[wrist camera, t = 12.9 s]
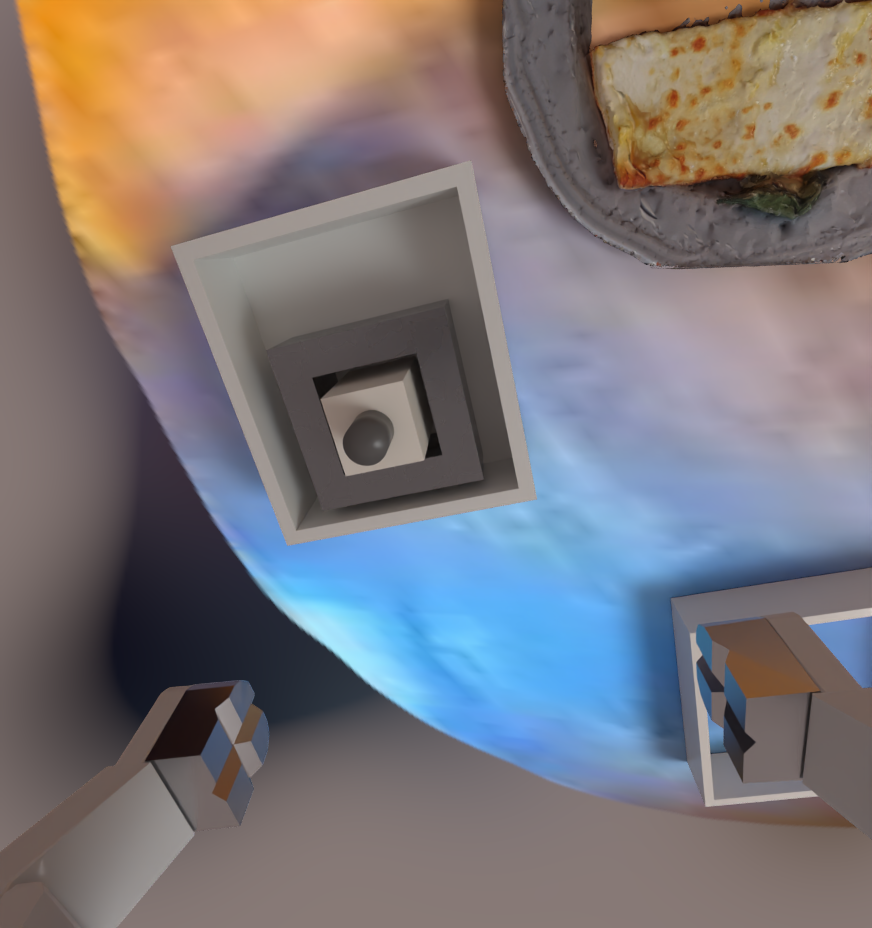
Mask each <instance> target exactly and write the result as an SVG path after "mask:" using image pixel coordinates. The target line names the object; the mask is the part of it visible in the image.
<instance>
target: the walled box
mask: <svg viewBox="0 0 872 928" xmlns="http://www.w3.org/2000/svg"><path fill="white" fill-rule="evenodd" d="M171 249H172V251H173V254H174V256H175V259H176V261H177V264H178V266H179V269H180V272H181V274H182V277H183V279H184V282H185V284H186V287H187V290H188V292H189V295H190V297H191V300H192V302H193V305H194V307H195V310H196V313H197V315H198V318H199V320H200V323H201V325H202V328H203V331H204V333H205V336H206V338H207V341H208V343H209V346H210V348H211V351H212V354H213V356H214V359H215V361H216V364H217V366H218V369H219V372H220V374H221V377H222V379H223V382H224V384H225V387H226V389H227V392H228V395H229V397H230V400H231V402H232V405H233V407H234V410H235V412H236V415H237V418H238V420H239V423H240V425H241V428H242V430H243V433H244V436H245V438H246V441H247V443H248V446H249V448H250V451H251V453H252V456H253V459H254V461H255V464H256V466H257V469H258V471H259V474H260V477H261V479H262V482H263V484H264V487H265V489H266V492H267V494H268V497H269V500H270V502H271V505H272V507H273V510H274V512H275V515H276V518H277V520H278V523H279V525H280V528H281V530H282V533H283V535H284V538H285V541H286V543H287V546H288V545H294V544H299V543H305V542H310V541H315V540H321V539H326V538H331V537H337V536H342V535H348V534H353V533H358V532H364V531H369V530H375V529H380V528H385V527H391V526H396V525H401V524H407V523H412V522H418V521H423V520H428V519H434V518H439V517H445V516H450V515H455V514H461V513H466V512H471V511H477V510H482V509H488V508H493V507H498V506H504V505H509V504H515V503H520V502H525V501H531V500H536V499H537V497H536V492H535V487H534V482H533V476H532V471H531V466H530V461H529V456H528V451H527V445H526V440H525V435H524V430H523V425H522V420H521V414H520V409H519V404H518V399H517V394H516V389H515V384H514V378H513V373H512V368H511V363H510V358H509V353H508V347H507V342H506V337H505V332H504V327H503V322H502V316H501V311H500V306H499V301H498V296H497V291H496V286H495V280H494V275H493V270H492V265H491V260H490V255H489V249H488V244H487V239H486V234H485V229H484V224H483V218H482V213H481V208H480V203H479V198H478V193H477V187H476V182H475V177H474V172H473V167H472V162H471V160H470V161H467V162H463V163H460V164H456V165H453V166H449V167H446V168H442V169H439V170H435V171H432V172H428V173H425V174H421V175H418V176H414V177H411V178H407V179H404V180H400V181H397V182H393V183H390V184H386V185H383V186H379V187H376V188H372V189H369V190H365V191H362V192H358V193H355V194H351V195H348V196H344V197H341V198H337V199H334V200H330V201H327V202H323V203H320V204H316V205H313V206H309V207H306V208H302V209H299V210H295V211H292V212H288V213H285V214H281V215H278V216H274V217H271V218H267V219H264V220H260V221H257V222H253V223H250V224H246V225H243V226H239V227H236V228H232V229H229V230H225V231H222V232H218V233H215V234H211V235H208V236H204V237H201V238H197V239H194V240H190V241H187V242H183V243H180V244H176V245H173V246H171ZM445 299H448V301H449V305H450V309H451V314H452V318H453V323H454V327H455V332H456V336H457V340H458V345H459V349H460V354H461V358H462V363H463V367H464V371H465V376H466V380H467V385H468V389H469V394H470V398H471V402H472V407H473V411H474V416H475V420H476V425H477V429H478V433H479V438H480V442H481V447H482V451H483V473H484V480H479V481H474V482H469V483H464V484H458V485H453V486H448V487H443V488H438V489H433V490H428V491H422V492H417V493H412V494H407V495H402V496H397V497H391V498H386V499H381V500H376V501H371V502H366V503H361V504H355V505H350V506H345V507H340V508H335V509H330V510H324V511H323V510H322V507H321V504H320V501H319V498H318V495H317V493H316V490H315V487H314V484H313V481H312V479H311V476H310V473H309V470H308V467H307V464H306V462H305V459H304V456H303V453H302V450H301V447H300V445H299V442H298V439H297V436H296V433H295V431H294V428H293V425H292V422H291V419H290V416H289V414H288V411H287V408H286V405H285V402H284V399H283V397H282V394H281V391H280V388H279V385H278V383H277V380H276V377H275V374H274V371H273V368H272V366H271V363H270V360H269V357H268V354H267V351H266V350H268V349H270V348H272V347H274V346H276V345H278V344H280V343H282V342H284V341H286V340H288V339H290V338H292V337H296V336H300V335H304V334H308V333H312V332H316V331H320V330H324V329H328V328H332V327H336V326H340V325H344V324H348V323H352V322H356V321H360V320H364V319H369V318H373V317H377V316H381V315H385V314H389V313H393V312H397V311H401V310H405V309H409V308H413V307H417V306H421V305H425V304H429V303H433V302H437V301H441V300H445ZM413 356H416V357H417V353H415V354H411V355H406V356H402V357H398V358H394V359H389V360H385V361H381V362H376V363H372V364H368V365H364V366H359V367H355V368H351V369H347V370H342V371H338V372H335V373H336V377H337V380H338V381H340V380H341V379H342V378H343V377H344V376H345V375H346V374H347V373H348V372H349V371H353V370H357V369H362V368H366V367H370V366H374V365H379V364H383V363H387V362H392V361H396V360H400V359H404V358H409V357H413ZM417 361H418V357H417ZM418 365H419V361H418ZM419 369H420V365H419ZM420 373H421V369H420ZM421 376H422V373H421ZM422 380H423V377H422ZM423 384H424V381H423ZM424 388H425V385H424ZM425 392H426V389H425ZM426 396H427V392H426ZM427 400H428V396H427ZM428 404H429V400H428ZM429 408H430V404H429ZM430 412H431V408H430ZM431 416H432V412H431ZM432 420H433V416H432ZM432 433H437V432H436V428H435V424H434V420H433V426H432V430H431V434H432Z"/></svg>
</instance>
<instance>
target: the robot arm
mask: <svg viewBox="0 0 872 928" xmlns="http://www.w3.org/2000/svg"><path fill="white" fill-rule="evenodd" d="M696 643H697V645H698V647H699V649H700V651H701V653H702V656H701V657H700V658H699V659H698V661H697V662H696V670H697V680H698V685H699V690H700V694H701V697H702V699H703V702H704V705H705V707H706V710H707V712H708V714H709V716H710V718H711V720H712V721H713V722H715V723H716V724H718V725H719V726H721V727H722V728H723V729H724V747H725V749H726V751H727V753H728V755H729V757H730V759H731V761H732V763H733V764H734V766H735V768H736V770H737V772H738V774H739V776H740V778H741V780H742V782H743V783H758V782H775V781H793V780H803V781H802V783H803V784H804V785H805V786H807V787H808V788H809V789H810V790H812V791H813V792H814V793H815V794H816V795H818V796H819V797H820V798H821V799H823V800H824V801H825V802H826V803H827V804H829V805H830V806H831V807H832V808H834V809H835V810H836V811H837V812H839V813H840V814H841V815H842V816H843V817H845V818H846V819H847V820H848V821H850V822H851V823H852V824H853V825H854V826H856V827H857V828H858V829H859V830H861V831H862V832H863V833H865V834H866V835H867V836H868V837H869V838H870V839H872V688H862V687H861V686H860V685H859V684H858V683H857V682H856V680H855V679H854V678H853V677H852V676H851V675H850V673H849V672H848V671H847V670H846V669H845V668H844V666H843V665H842V664H841V663H840V662H839V661H838V659H837V658H836V657H835V656H834V655H833V653H832V652H831V651H830V650H829V649H828V648H827V646H826V645H825V644H824V643H823V642H822V641H821V639H820V638H819V637H818V636H817V635H816V634H815V632H814V631H813V630H812V629H811V628H810V627H809V625H808V624H807V623H806V622H805V621H804V620H803V618H802V617H801V616H800V615H798V614H797V613H795V612H786V613H779V614H771V615H764V616H760V617H751V618H743V619H735V620H728V621H720V622H712V623H705V624H698V626H697V629H696ZM254 695H255V694H254V692H253V690H252V688H251V686H250V684H249V682H248V681H242V680H238V681H228V682H217V683H207V684H196V685H192V686H181V687H170V688H168V689H167V690H165V691H164V692H162V693H161V695H160V696H159V698H158V699H157V701H156V702H155V704H154V706H153V707H152V709H151V710H150V712H149V713H148V715H147V716H146V718H145V720H144V721H143V723H142V724H141V726H140V727H139V729H138V731H137V732H136V734H135V735H134V737H133V738H132V740H131V742H130V743H129V745H128V746H127V748H126V749H125V751H124V753H123V754H122V756H121V757H120V759H119V761H118V762H117V763H116V765H115V766H109V767H106V768H105V769H104V770H102V771H101V772H100V773H99V774H97V775H96V776H95V777H94V778H92V779H91V780H90V781H89V782H87V783H86V784H85V785H84V786H82V787H81V788H80V789H79V790H77V791H76V792H75V793H73V794H72V795H71V796H70V797H69V798H67V799H66V800H65V801H63V802H62V803H61V804H60V805H58V806H57V807H56V808H55V809H53V810H52V811H51V812H50V813H48V814H47V815H46V816H45V817H43V818H42V819H41V820H40V821H38V822H37V823H36V824H35V825H33V826H32V827H31V828H29V829H28V830H27V831H26V832H25V833H23V834H22V835H21V836H19V837H18V838H17V839H16V840H14V841H13V842H12V843H11V844H9V845H8V846H7V847H6V848H4V849H3V850H2V851H1V852H0V928H117V926H118V925H119V924H120V923H121V922H122V920H123V919H124V918H125V917H126V916H127V914H128V913H129V912H130V911H131V910H132V909H133V907H134V906H135V905H136V904H137V903H138V901H139V900H140V899H141V898H142V897H143V896H144V894H145V893H146V892H147V891H148V890H149V888H150V887H151V886H152V885H153V884H154V882H155V881H156V880H157V879H158V878H159V876H160V875H161V874H162V873H163V872H164V871H165V869H166V868H167V867H168V866H169V865H170V863H171V862H172V861H173V860H174V859H175V857H176V856H177V855H178V854H179V853H180V852H181V850H182V849H183V848H184V847H185V846H186V844H187V843H188V842H189V841H190V840H191V838H192V837H193V836H194V835H195V833H194V831H204V830H212V829H221V828H229V827H237V826H240V825H241V822H242V819H243V817H244V814H245V811H246V809H247V806H248V803H249V800H250V798H251V795H252V793H253V790H254V788H253V785H252V782H251V779H250V777H251V776H252V775H253V774H254V773H255V772H256V771H257V770H258V769H259V768H260V767H261V766H262V765H263V762H264V759H265V756H266V753H267V751H268V740H269V729H268V724H267V720H266V718H265V715H264V713H263V711H262V710H260V709H259V708H257V707H255V706H254V705H253V704H251V702H252V700H253V697H254Z"/></svg>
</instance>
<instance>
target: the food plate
mask: <svg viewBox="0 0 872 928" xmlns="http://www.w3.org/2000/svg"><path fill="white" fill-rule="evenodd" d="M762 1H763V0H760V2H762ZM783 1H784V2H783ZM786 1H787V3H786ZM727 8H728V7H727V6H726V7H725V9H727ZM769 8H770V10H768V9H767V10H761V9H760V10H759V11H758V12H756V13H755V15H754V16H752V17H742V6H741V5H740V4H738V5H737V7H736V8H735V9H734V10H733V11H731V12H730V13H729V16H728V18H727V19H723V20H719V21H718V23H716V24H714V25H708V21H709V17H707V18H706V19H705V20H704V21H702V20H696V21H695V22H694V23H693V25H692V26H691V27H686V25H687V24H688V23H689V22H690V18H687V19H686V20H685V21H684V22H683V23H682V24H681V25H680V26H678V27H676V28H675V29H674V30H672V31H671V32H665V33H659V31H658V30H655V31H652V32H646V31H645V32H643V33H641V34H639V35H637V34H636V35H631V36H627V37H626V38H623V39H620V40H618V41H616V42H611V43H610V44H608V45H607V46H606V45H599V46H596V47H595V48H594V50H591V51H590V52H589V48H590V43H591V38H592V36H591V23H592V0H503V7H502V14H503V20H502V25H503V48H504V49H503V50H504V51H503V62H504V69H503V76H504V80H503V81H504V82H505V92H506V94H507V96H508V97H507V99H508V101H509V103H510V107H511V110H512V111H513V113H514V115H515V118H516V119H518V121H517V123H518V126H519V127H520V128H521V129H520V130H521V132H522V133H523V136H524V137H526V138H527V142H526V143H528V145H527V147H528V150H529V151H530V152H531V154H532V157H531V158H533V161H534V160H535V162H536V164H535V165H537V166H538V168H539V170H540V172H541V173H542V174H543V177H544V178H546V182H547V185H548V187H549V188H550V189H552V191H553V192H555V195H556V197H558V200H560V201H561V204H562V205H563V207H566V208H568V211H569V213H570V214H571V216H574V217H575V219H576V220H578V222H580V224H582V225H583V226H585V227H586V229H588V230H589V232H592V233H593V234H594V236H595V237H596V236H598V237H600V239H602V240H603V242H604V243H608V244H609V243H610V244H609V245H610V246H614V247H616V248H618V249H620V250H622V251H623V252H626V253H628V254H630V255H632V256H634V257H635V258H637V259H638V260H640V261H641V262H642V263H644V264H646V265H648V264H650V266H651V265H652V266H659V267H662V266H664V265H665V266H674V267H677V265H678V267H679V268H667V269H695V268H696V267H697V268H715V267H719V266H725V267H742V266H768V265H796V264H795V263H802V264H820V263H815V262H820V261H822V263H834V262H835V261H837V260H838V259H839V258H840V257H841V260H842V261H841V262H848V261H849V260H850V261H851V260H853V259H857V258H858V257H862V256H863V255H864V256H865V255H868V254H872V0H825V1H824V0H770V4H769ZM694 19H695V18H694ZM504 53H505V54H504ZM594 140H596V142H597V148H596V147H594V144H593V142H594ZM601 157H602V158H601ZM832 260H834V262H831V261H832ZM841 262H838V263H841ZM788 263H789V264H788ZM680 267H689V268H680ZM690 267H694V268H690Z"/></svg>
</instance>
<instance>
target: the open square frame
mask: <svg viewBox="0 0 872 928" xmlns="http://www.w3.org/2000/svg"><path fill="white" fill-rule="evenodd" d="M670 599H671V608H672V618H673V628H674V637H675V647H676V657H677V666H678V676H679V686H680V695H681V705H682V715H683V724H684V734H685V744H686V754H687V763H688V765H689V768H690V770H691V772H692V775H693V777H694V780H695V782H696V785H697V787H698V789H699V792H700V794H701V797H702V799H703V802H704V804H705V807H709V806H720V805H730V804H741V803H751V802H762V801H772V800H783V799H793V798H804V797H814V796H818V795H816V794H815V793H814V792H813V791H812V790H810V789H809V788H808V787H807V786H805V785H804V784H803V783H802V781H803V780H793V781H775V782H758V783H743V782H742V780H741V778H740V776H739V774H738V772H737V770H736V768H735V766H734V764H733V763H732V761H731V759H730V757H729V755H728V753H727V752H726V753H717V754H710V744H709V731H708V719H707V710H706V707H705V705H704V702H703V699H702V697H701V694H700V690H699V685H698V680H697V670H696V662H697V661H698V659H699V658H700V657H701V656H702V653H701V651H700V649H699V647H698V645H697V643H696V629H697V626H698V624H705V623H712V622H720V621H728V620H735V619H743V618H751V617H760V616H764V615H771V614H779V613H786V612H795V613H797V614H798V615H800V616H801V617H802V618H803V620H804V621H805V622H806V623H807V624H808V625H812V624H819V623H826V622H833V621H840V620H847V619H855V618H862V617H869V616H872V568H866V569H859V570H852V571H846V572H839V573H833V574H826V575H820V576H813V577H806V578H800V579H793V580H787V581H780V582H774V583H767V584H760V585H754V586H747V587H741V588H734V589H728V590H721V591H715V592H708V593H701V594H695V595H688V596H682V597H675V598H670Z"/></svg>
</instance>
